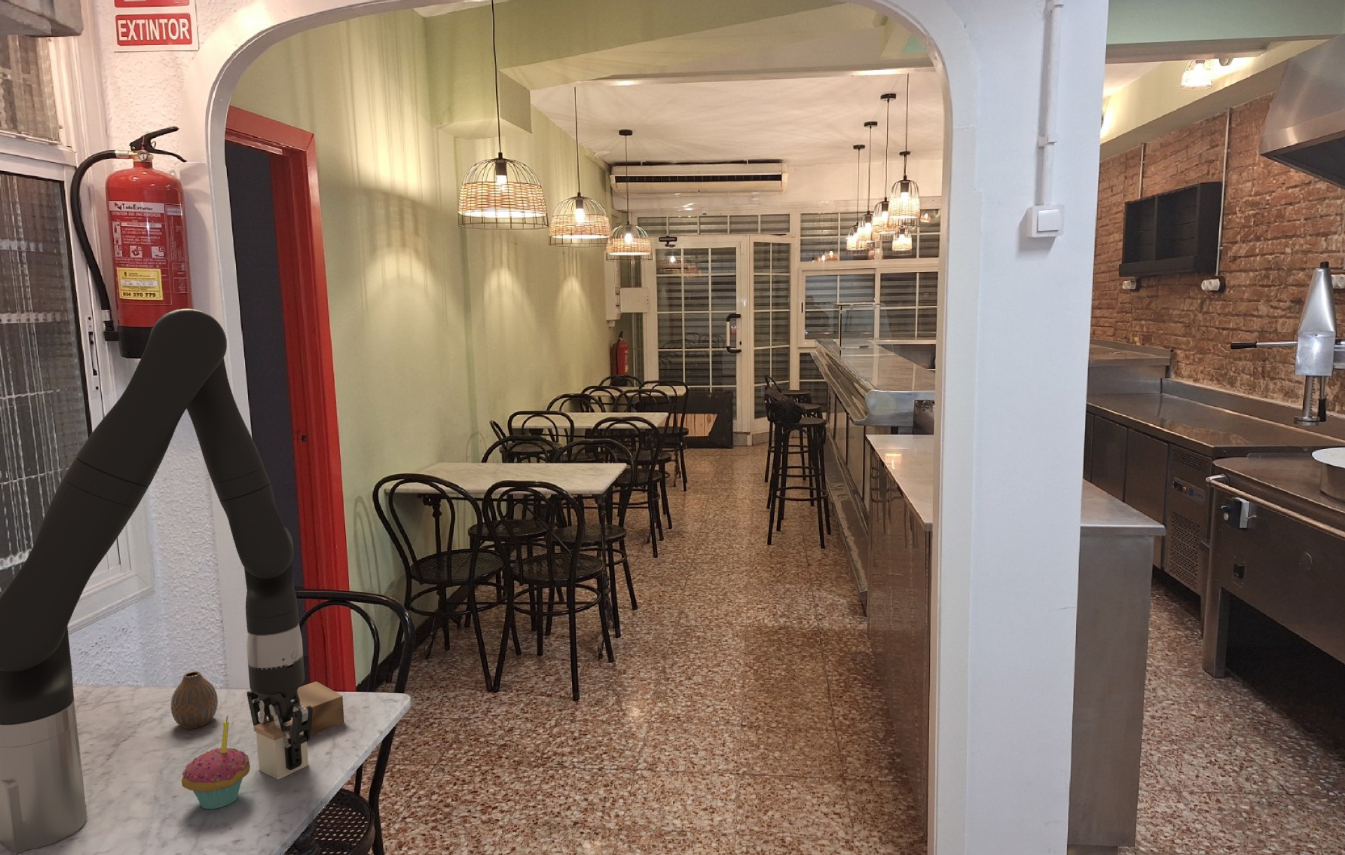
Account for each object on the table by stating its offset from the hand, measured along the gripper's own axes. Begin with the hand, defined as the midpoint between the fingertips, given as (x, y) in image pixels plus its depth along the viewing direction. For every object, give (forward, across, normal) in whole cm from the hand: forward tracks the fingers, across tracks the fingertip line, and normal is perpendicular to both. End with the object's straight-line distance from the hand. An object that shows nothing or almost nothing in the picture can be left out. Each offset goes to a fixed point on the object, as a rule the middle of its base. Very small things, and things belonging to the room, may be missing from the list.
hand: (283, 761), depth 131 cm
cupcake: (+1, +1, -10) cm, 10 cm away
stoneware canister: (+1, 0, 0) cm, 1 cm away
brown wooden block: (+1, -10, +10) cm, 14 cm away
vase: (+1, -26, 0) cm, 26 cm away
